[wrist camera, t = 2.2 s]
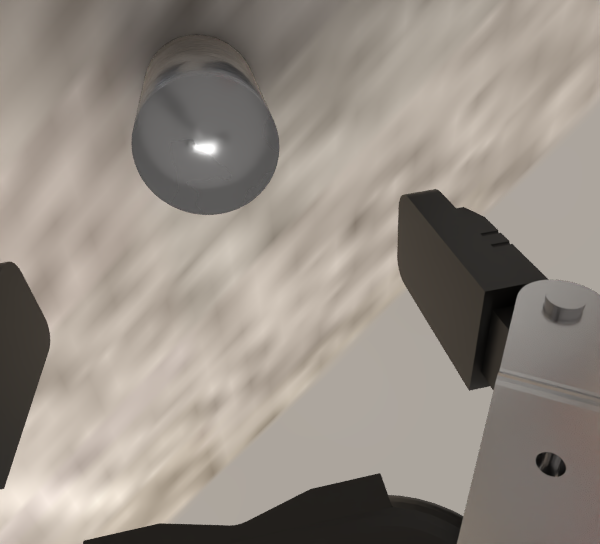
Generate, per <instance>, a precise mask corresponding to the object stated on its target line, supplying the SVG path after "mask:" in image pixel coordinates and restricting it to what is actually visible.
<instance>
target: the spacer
mask: <svg viewBox="0 0 600 544" xmlns="http://www.w3.org/2000/svg"><path fill="white" fill-rule="evenodd" d="M132 153H133V158H134V162H135V165H136V167H137V170H138V172H139V174H140V176H141V178H142V179H143V181H144V182H145V184H146V185H147V186H148V188H149V189H150V190H151V191H152V192H153V193H154V194H155V195H156V196H158V197H159V198H160V199H161V200H163V201H164V202H166V203H167V204H169V205H171V206H173V207H175V208H177V209H180V210H183V211H185V212H189V213H194V214H202V215H214V214H222V213H226V212H230V211H233V210H236V209H238V208H240V207H242V206H244V205H246V204H248V203H249V202H251V201H252V200H253V199H255V198H256V197H257V196H258V195H259V194H260V193H261V192H262V191H263V190H264V189H265V187H266V186H267V184H268V183H269V182H270V180H271V178H272V176H273V174H274V171H275V169H276V166H277V162H278V157H279V138H278V133H277V129H276V126H275V123H274V120H273V118H272V116H271V114H270V111H269V109H268V107H267V105H266V103H265V100H264V98H263V96H262V94H261V92H260V89H259V87H258V85H257V83H256V81H255V78H254V76H253V74H252V72H251V70H250V68H249V66H248V64H247V62H246V61H245V59H244V58H243V57H242V56H241V55H240V53H239V52H238V51H236V50H235V49H234V48H233V47H232V46H230V45H229V44H227V43H226V42H224V41H222V40H220V39H217V38H214V37H211V36H206V35H188V36H183V37H180V38H177V39H174V40H172V41H171V42H169V43H167V44H166V45H165V46H163V47H162V48H161V49H160V50H159V51H158V52H157V53H156V54H155V56H154V57H153V58H152V60H151V62H150V64H149V66H148V69H147V71H146V75H145V79H144V84H143V88H142V92H141V97H140V101H139V106H138V110H137V114H136V119H135V123H134V128H133V133H132Z"/></svg>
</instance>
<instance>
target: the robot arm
mask: <svg viewBox="0 0 600 544" xmlns="http://www.w3.org/2000/svg"><path fill="white" fill-rule="evenodd" d="M397 258H398V266H399V271H400V275H401V278H402V280H403V282H404V284H405V286H406V287H407V289H408V291H409V292H410V294H411V296H412V297H413V299H414V300H415V302H416V304H417V306H418V307H419V309H420V311H421V312H422V314H423V315H424V317H425V319H426V320H427V322H428V324H429V325H430V327H431V329H432V330H433V332H434V333H435V335H436V337H437V338H438V340H439V341H440V343H441V345H442V347H443V348H444V350H445V352H446V353H447V355H448V356H449V358H450V360H451V361H452V363H453V364H454V366H455V368H456V369H457V371H458V373H459V375H460V376H461V378H462V380H463V381H464V383H465V385H466V386H467V388H468V389H469V390H473V389H478V388H483V387H488V386H491V388H492V389H493V390H494V391H493V395H492V399H491V404H490V408H489V412H488V416H487V420H486V424H485V429H484V433H483V437H482V442H481V445H480V450H479V454H478V458H477V462H476V466H475V470H474V474H473V479H472V483H471V487H470V491H469V495H468V500H467V504H466V508H465V512H464V516H462V515H460V514H458V513H456V512H454V511H452V510H450V509H447V508H445V507H442V506H440V505H437V504H435V503H431V502H428V501H424V500H420V499H416V498H410V497H404V496H394V495H388V494H387V491H386V489H385V485H384V483H383V480H382V477H381V474H375V475H371V476H366V477H362V478H357V479H353V480H349V481H344V482H340V483H336V484H331V485H327V486H322V487H318V488H313V489H310V490H308V491H306V492H304V493H302V494H300V495H298V496H296V497H294V498H292V499H290V500H288V501H286V502H284V503H282V504H280V505H278V506H277V507H274V508H272V509H271V510H268V511H267V512H265V513H263V514H260V515H259V516H257V517H255V518H253V519H251V520H249V521H247V522H244V523H242V524H239V525H234V526H233V525H232V526H223V525H192V524H155V525H151V526H147V527H142V528H138V529H134V530H129V531H125V532H120V533H116V534H112V535H107V536H103V537H98V538H94V539H90V540H85V541H84V542H83V544H600V295H599V294H598V293H597V292H595V291H593V290H591V289H590V288H587V287H585V286H583V285H580V284H577V283H573V282H569V281H563V280H548V279H547V278H546V277H545V276H544V275H543V274H542V273H541V272H540V271H539V270H538V269H537V268H536V267H535V266H534V265H533V264H532V263H531V262H530V261H529V260H528V259H527V258H526V257H525V256H524V255H523V254H522V253H521V252H520V251H519V250H518V249H517V248H516V247H515V246H514V245H513V244H510V243H509V240H508V239H507V238H505V237H504V235H502V234H501V233H498V230H497V229H496V228H495V227H494V226H493V225H492V224H491V223H490V222H489V221H488V220H487V219H486V218H485V217H483V216H481V215H479V214H477V213H475V212H473V211H471V210H469V209H466V208H464V207H462V208H457V209H456V208H455V207H454V206H453V205H452V204H451V203H450V201H449V200H448V199H447V198H446V197H445V196H444V195H443V194H442V193H441V192H440V191H439V190H437V189H434V190H428V191H422V192H417V193H411V194H405V195H402V196H401V198H400V201H399V217H398V252H397ZM49 347H50V333H49V328H48V324H47V321H46V319H45V317H44V315H43V313H42V311H41V309H40V307H39V305H38V304H37V302H36V300H35V298H34V296H33V294H32V292H31V290H30V288H29V286H28V284H27V282H26V280H25V278H24V276H23V274H22V273H21V271H20V269H19V268H18V266H17V265H16V264H14V263H12V262H4V263H0V489H4V487H5V484H6V481H7V478H8V475H9V472H10V469H11V465H12V462H13V459H14V456H15V453H16V450H17V447H18V444H19V441H20V438H21V435H22V432H23V428H24V425H25V422H26V419H27V416H28V413H29V410H30V407H31V404H32V401H33V398H34V395H35V391H36V388H37V385H38V382H39V379H40V376H41V373H42V370H43V367H44V364H45V361H46V358H47V354H48V351H49Z"/></svg>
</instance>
